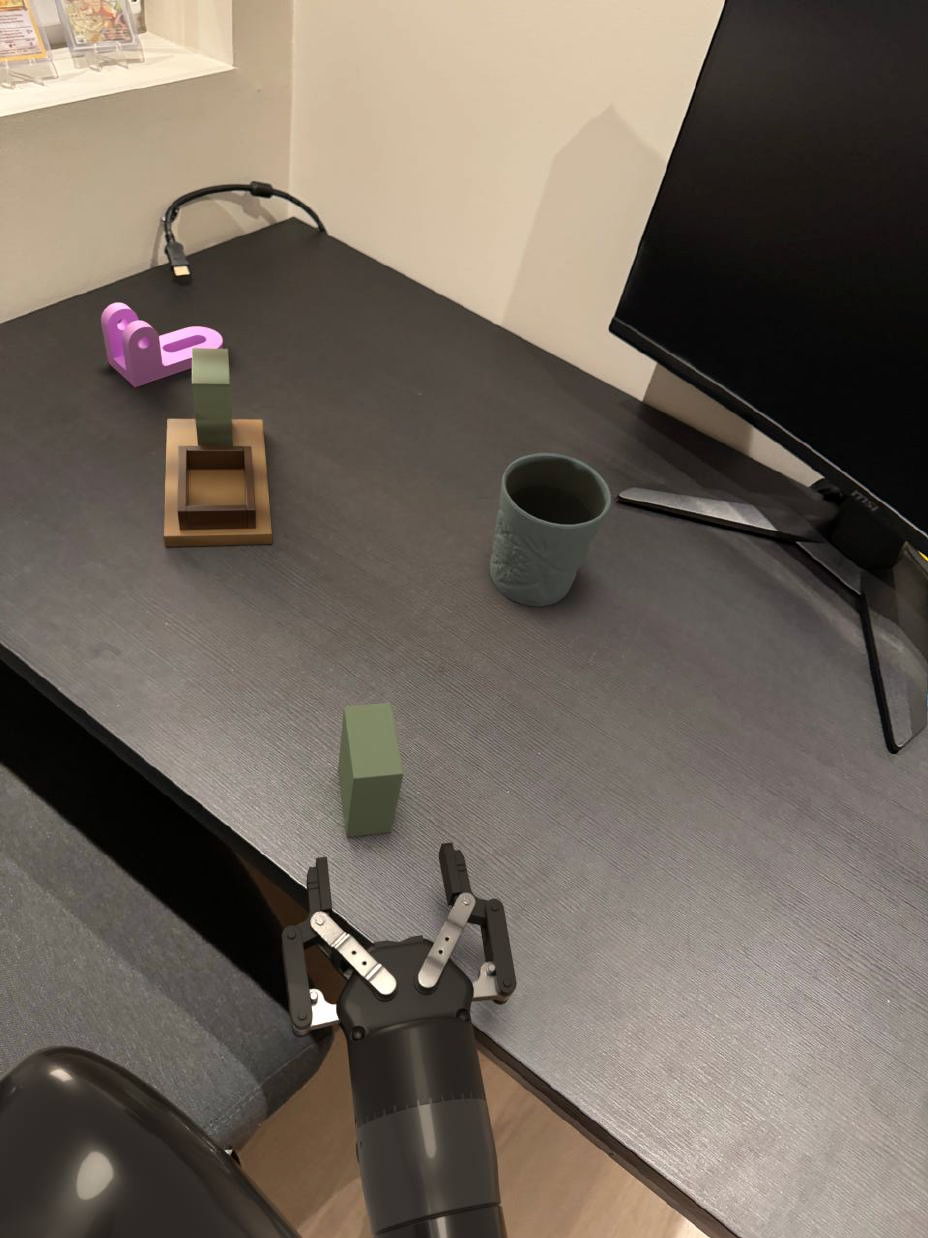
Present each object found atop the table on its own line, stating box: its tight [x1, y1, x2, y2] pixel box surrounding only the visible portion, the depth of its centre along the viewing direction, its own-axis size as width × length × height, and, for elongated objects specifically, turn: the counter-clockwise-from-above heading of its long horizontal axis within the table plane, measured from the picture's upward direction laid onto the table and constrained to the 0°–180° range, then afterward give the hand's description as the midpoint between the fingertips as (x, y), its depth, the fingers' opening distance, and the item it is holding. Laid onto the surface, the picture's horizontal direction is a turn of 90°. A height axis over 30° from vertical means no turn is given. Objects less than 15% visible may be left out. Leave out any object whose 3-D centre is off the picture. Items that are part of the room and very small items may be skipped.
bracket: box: [100, 302, 224, 388], centre depth 97 cm, size 13×6×7 cm, turn 135°
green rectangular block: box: [337, 702, 404, 838], centre depth 63 cm, size 6×4×9 cm, turn 12°
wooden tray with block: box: [163, 348, 273, 548], centre depth 83 cm, size 18×10×10 cm, turn 12°
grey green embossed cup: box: [489, 452, 612, 607], centre depth 81 cm, size 10×10×12 cm
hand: (383, 854), depth 57 cm, fingers open, 8 cm apart
